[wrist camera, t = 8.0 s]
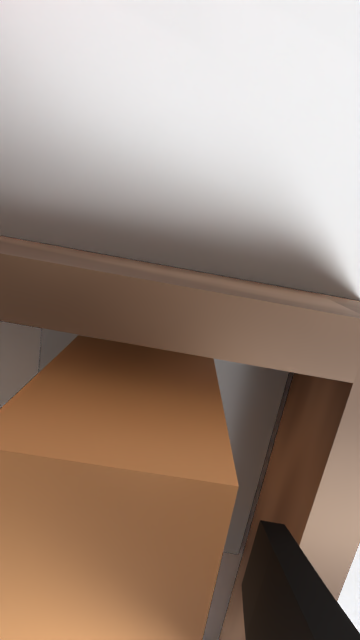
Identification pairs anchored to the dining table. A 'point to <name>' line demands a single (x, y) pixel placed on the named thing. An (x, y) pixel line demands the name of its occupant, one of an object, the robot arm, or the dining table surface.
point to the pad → (241, 418)
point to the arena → (235, 346)
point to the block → (113, 496)
